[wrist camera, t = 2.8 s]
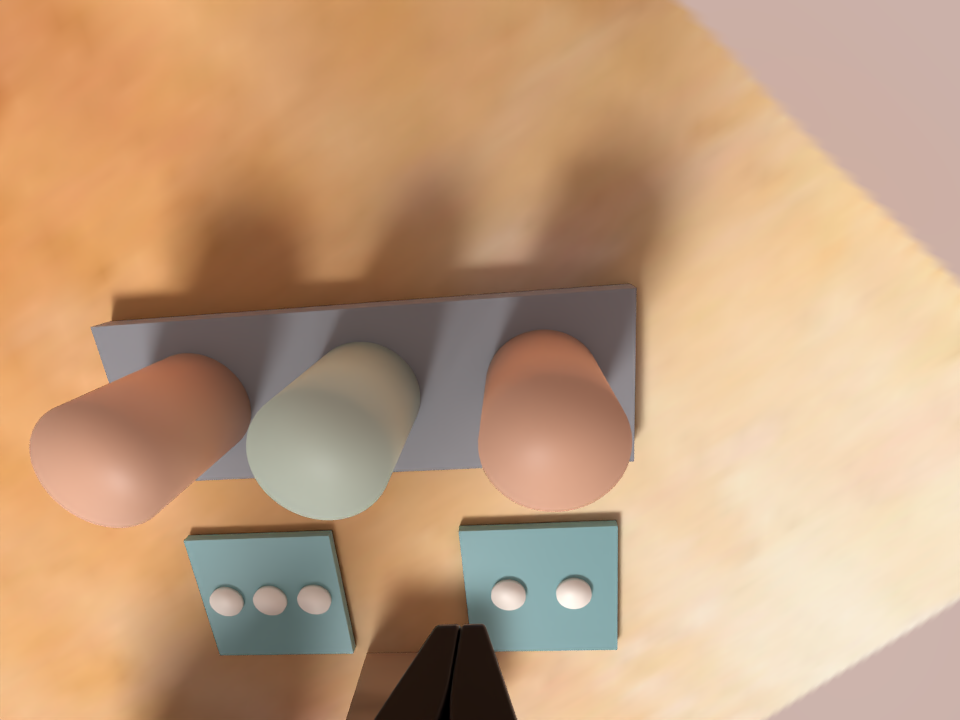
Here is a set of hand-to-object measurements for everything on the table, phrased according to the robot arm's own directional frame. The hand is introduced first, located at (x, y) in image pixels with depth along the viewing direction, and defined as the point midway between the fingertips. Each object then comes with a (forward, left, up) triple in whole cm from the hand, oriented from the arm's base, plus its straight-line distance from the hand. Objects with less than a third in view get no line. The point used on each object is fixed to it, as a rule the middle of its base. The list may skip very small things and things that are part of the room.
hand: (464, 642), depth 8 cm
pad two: (-10, -2, -12) cm, 16 cm away
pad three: (-10, +11, -12) cm, 20 cm away
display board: (0, +5, -12) cm, 13 cm away
